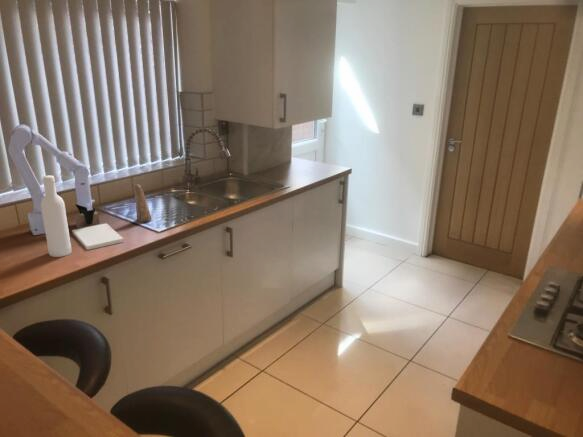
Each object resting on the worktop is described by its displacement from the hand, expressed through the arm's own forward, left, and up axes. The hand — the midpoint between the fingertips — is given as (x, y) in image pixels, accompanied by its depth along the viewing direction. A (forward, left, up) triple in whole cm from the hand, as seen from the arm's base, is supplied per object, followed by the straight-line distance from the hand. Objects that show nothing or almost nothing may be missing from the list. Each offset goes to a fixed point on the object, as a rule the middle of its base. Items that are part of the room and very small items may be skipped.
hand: (87, 221), depth 207 cm
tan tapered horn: (+22, -9, -2) cm, 24 cm away
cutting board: (-1, -17, -1) cm, 18 cm away
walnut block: (0, 0, -2) cm, 2 cm away
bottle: (-17, -25, -2) cm, 30 cm away
